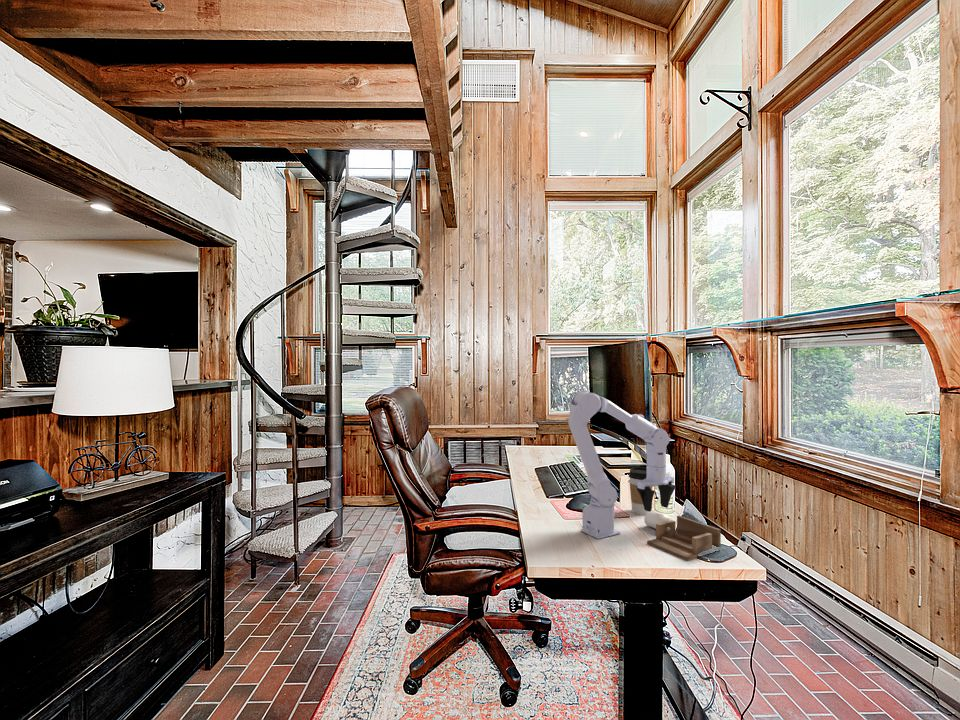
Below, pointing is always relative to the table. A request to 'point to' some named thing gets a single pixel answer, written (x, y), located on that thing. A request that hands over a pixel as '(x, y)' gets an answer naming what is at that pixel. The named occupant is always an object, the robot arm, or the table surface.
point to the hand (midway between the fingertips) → (656, 508)
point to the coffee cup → (635, 477)
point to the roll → (656, 519)
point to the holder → (685, 537)
